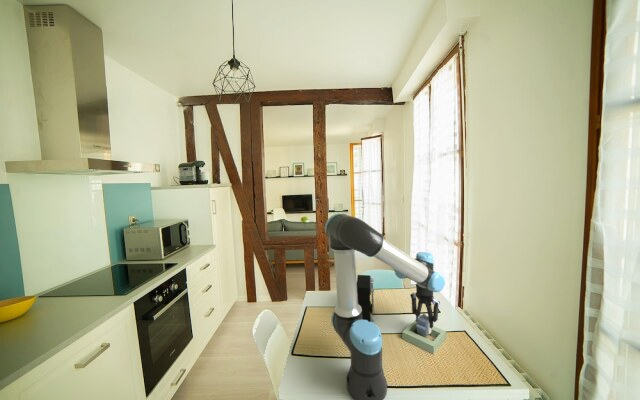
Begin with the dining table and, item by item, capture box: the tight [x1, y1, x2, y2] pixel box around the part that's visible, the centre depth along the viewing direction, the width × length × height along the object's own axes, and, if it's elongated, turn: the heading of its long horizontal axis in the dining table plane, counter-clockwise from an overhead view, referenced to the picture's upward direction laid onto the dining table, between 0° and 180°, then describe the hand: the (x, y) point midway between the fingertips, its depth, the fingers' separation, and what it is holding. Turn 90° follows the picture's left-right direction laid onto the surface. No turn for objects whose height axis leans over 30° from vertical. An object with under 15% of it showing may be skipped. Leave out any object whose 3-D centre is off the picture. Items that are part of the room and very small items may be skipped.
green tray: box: [401, 319, 447, 355], centre depth 119 cm, size 15×15×4 cm
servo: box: [416, 313, 432, 337], centre depth 119 cm, size 10×4×8 cm, turn 133°
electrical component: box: [356, 274, 375, 322], centre depth 141 cm, size 18×10×20 cm, turn 168°
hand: (424, 330), depth 119 cm, fingers closed on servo, 4 cm apart
